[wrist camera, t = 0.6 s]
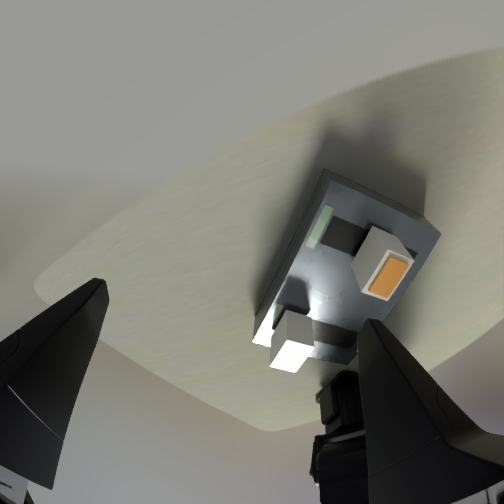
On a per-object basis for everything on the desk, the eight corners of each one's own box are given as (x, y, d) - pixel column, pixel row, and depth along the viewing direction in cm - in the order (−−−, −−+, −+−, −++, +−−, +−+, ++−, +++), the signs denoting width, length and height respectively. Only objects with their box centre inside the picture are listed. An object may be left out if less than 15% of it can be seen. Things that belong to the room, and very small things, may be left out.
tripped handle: (397, 236, 17) (415, 262, 14) (374, 273, 19) (388, 303, 16) (372, 225, 17) (389, 250, 14) (350, 264, 18) (361, 294, 16)
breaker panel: (424, 217, 20) (441, 234, 17) (342, 341, 26) (347, 365, 24) (324, 168, 19) (332, 180, 16) (254, 317, 26) (252, 342, 23)
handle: (311, 317, 21) (314, 347, 18) (294, 343, 22) (295, 372, 20) (286, 309, 21) (286, 339, 18) (270, 336, 22) (269, 366, 19)
